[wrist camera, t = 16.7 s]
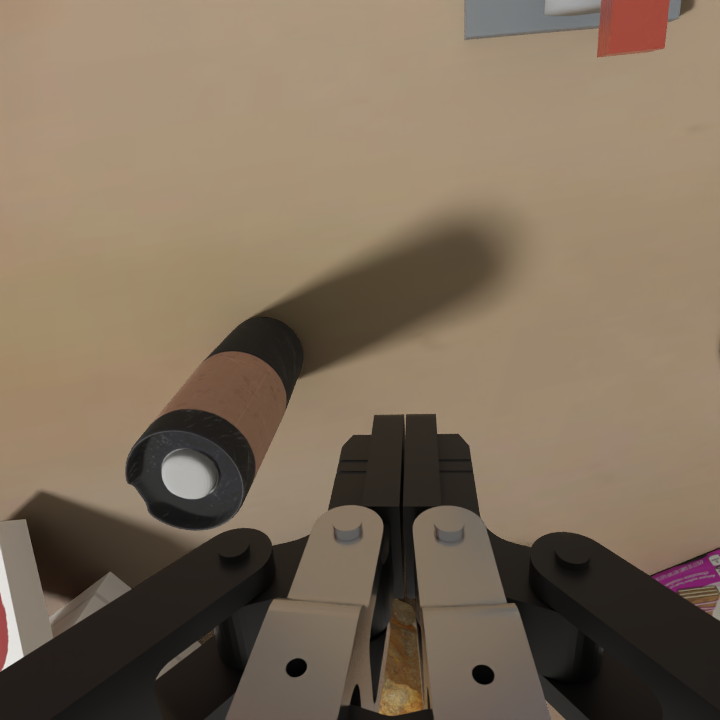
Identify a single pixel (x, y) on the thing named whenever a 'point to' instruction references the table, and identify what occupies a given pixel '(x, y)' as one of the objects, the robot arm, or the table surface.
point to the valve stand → (535, 16)
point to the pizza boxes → (27, 605)
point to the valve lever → (632, 26)
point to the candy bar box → (696, 582)
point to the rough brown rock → (402, 664)
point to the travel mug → (217, 428)
